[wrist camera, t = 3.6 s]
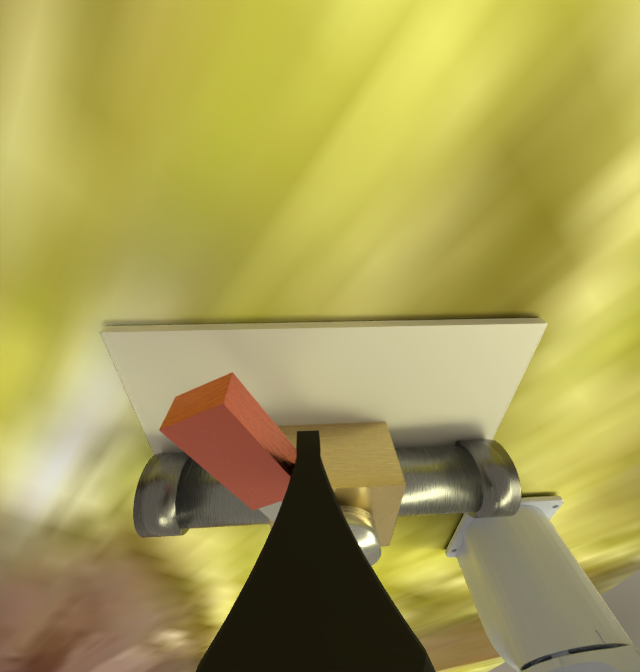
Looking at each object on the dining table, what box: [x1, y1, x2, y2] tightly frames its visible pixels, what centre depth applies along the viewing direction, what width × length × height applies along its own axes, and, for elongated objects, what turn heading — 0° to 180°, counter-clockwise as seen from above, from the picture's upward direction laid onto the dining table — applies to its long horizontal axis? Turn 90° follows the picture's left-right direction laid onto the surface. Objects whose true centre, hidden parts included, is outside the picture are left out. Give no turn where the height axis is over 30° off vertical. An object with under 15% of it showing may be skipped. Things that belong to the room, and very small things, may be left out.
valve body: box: [133, 422, 521, 546], centre depth 18 cm, size 6×21×5 cm, turn 89°
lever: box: [159, 372, 381, 566], centre depth 13 cm, size 14×4×2 cm, turn 25°
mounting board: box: [100, 318, 548, 455], centre depth 19 cm, size 16×22×1 cm
